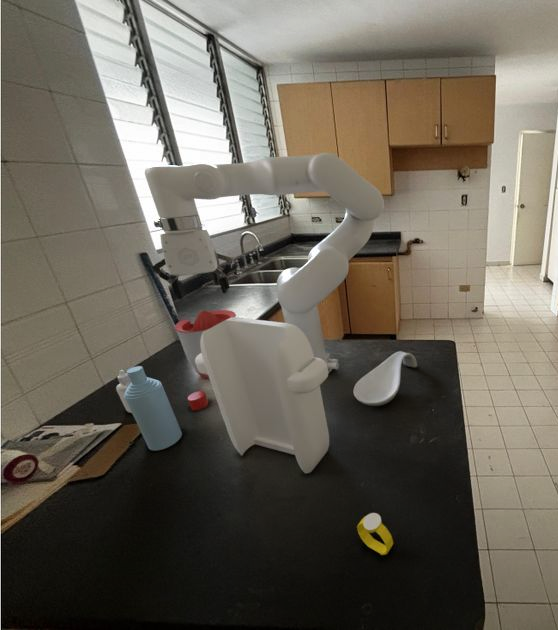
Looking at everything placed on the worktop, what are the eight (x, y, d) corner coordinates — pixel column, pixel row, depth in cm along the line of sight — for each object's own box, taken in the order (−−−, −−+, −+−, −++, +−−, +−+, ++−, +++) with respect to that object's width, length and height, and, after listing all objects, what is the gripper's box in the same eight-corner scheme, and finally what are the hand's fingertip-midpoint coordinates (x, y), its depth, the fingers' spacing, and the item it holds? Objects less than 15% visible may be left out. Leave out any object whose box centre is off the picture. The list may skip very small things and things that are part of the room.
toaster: (355, 442, 74) (336, 317, 62) (326, 483, 64) (297, 345, 52) (257, 418, 82) (224, 305, 70) (219, 452, 72) (173, 327, 61)
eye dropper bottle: (132, 418, 84) (113, 378, 80) (125, 410, 88) (106, 371, 83) (152, 408, 88) (135, 369, 83) (145, 401, 91) (128, 363, 86)
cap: (190, 405, 88) (186, 395, 87) (207, 398, 91) (203, 389, 89) (192, 412, 86) (188, 402, 84) (209, 405, 88) (205, 395, 86)
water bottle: (188, 431, 79) (160, 362, 72) (165, 451, 73) (132, 378, 66) (165, 429, 80) (135, 360, 73) (141, 449, 74) (105, 377, 67)
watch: (397, 548, 52) (394, 523, 50) (386, 565, 50) (383, 539, 48) (367, 530, 55) (363, 505, 53) (356, 545, 53) (351, 519, 51)
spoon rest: (384, 418, 80) (382, 394, 77) (345, 406, 85) (341, 382, 82) (427, 369, 99) (426, 348, 97) (393, 361, 104) (391, 341, 102)
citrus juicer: (231, 351, 116) (215, 296, 108) (258, 364, 106) (243, 306, 98) (181, 372, 104) (159, 313, 96) (207, 389, 95) (184, 325, 87)
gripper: (130, 230, 71) (158, 304, 78) (220, 223, 76) (239, 293, 83) (144, 225, 78) (169, 294, 85) (226, 219, 83) (244, 285, 89)
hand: (204, 294), depth 84 cm, fingers open, 9 cm apart
